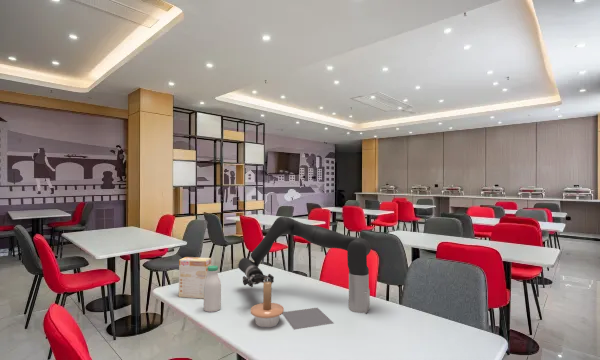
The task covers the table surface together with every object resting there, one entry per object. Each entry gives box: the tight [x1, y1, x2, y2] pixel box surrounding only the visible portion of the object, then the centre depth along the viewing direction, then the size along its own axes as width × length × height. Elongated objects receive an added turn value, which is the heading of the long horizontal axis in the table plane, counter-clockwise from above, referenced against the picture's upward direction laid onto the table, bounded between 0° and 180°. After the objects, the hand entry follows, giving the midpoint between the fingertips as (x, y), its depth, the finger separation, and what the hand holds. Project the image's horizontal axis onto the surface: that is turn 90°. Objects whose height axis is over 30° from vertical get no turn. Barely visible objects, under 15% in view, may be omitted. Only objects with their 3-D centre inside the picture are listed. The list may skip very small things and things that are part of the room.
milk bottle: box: [203, 265, 222, 313], centre depth 151 cm, size 8×8×20 cm
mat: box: [281, 307, 334, 331], centre depth 141 cm, size 18×18×1 cm
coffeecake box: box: [178, 256, 212, 300], centre depth 168 cm, size 15×7×20 cm, turn 80°
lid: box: [250, 282, 285, 318], centre depth 136 cm, size 14×14×12 cm
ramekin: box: [254, 315, 281, 328], centre depth 136 cm, size 11×11×5 cm
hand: (261, 284), depth 146 cm, fingers open, 8 cm apart
